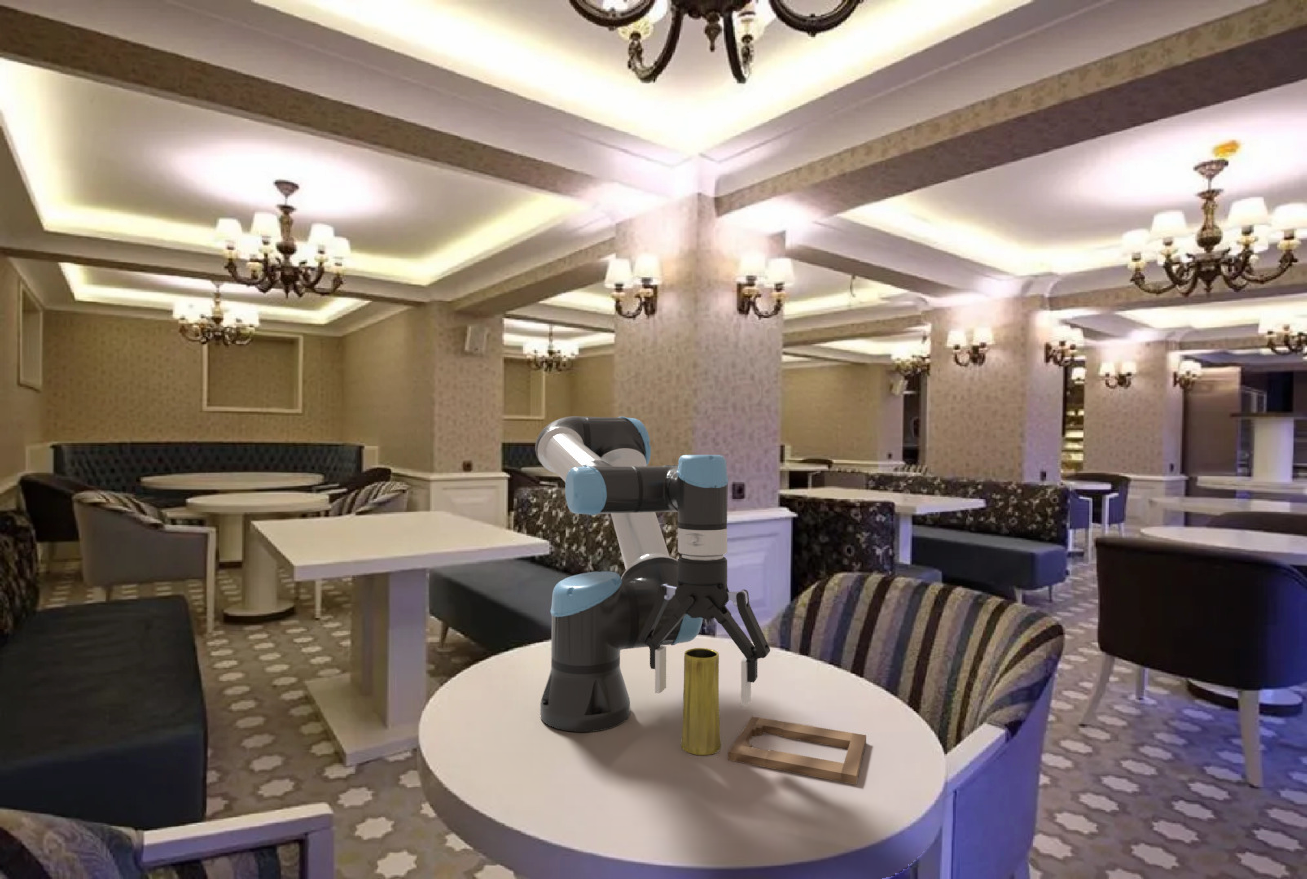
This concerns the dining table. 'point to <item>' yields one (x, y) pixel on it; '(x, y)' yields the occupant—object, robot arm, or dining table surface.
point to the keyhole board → (799, 763)
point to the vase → (701, 702)
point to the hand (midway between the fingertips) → (702, 696)
